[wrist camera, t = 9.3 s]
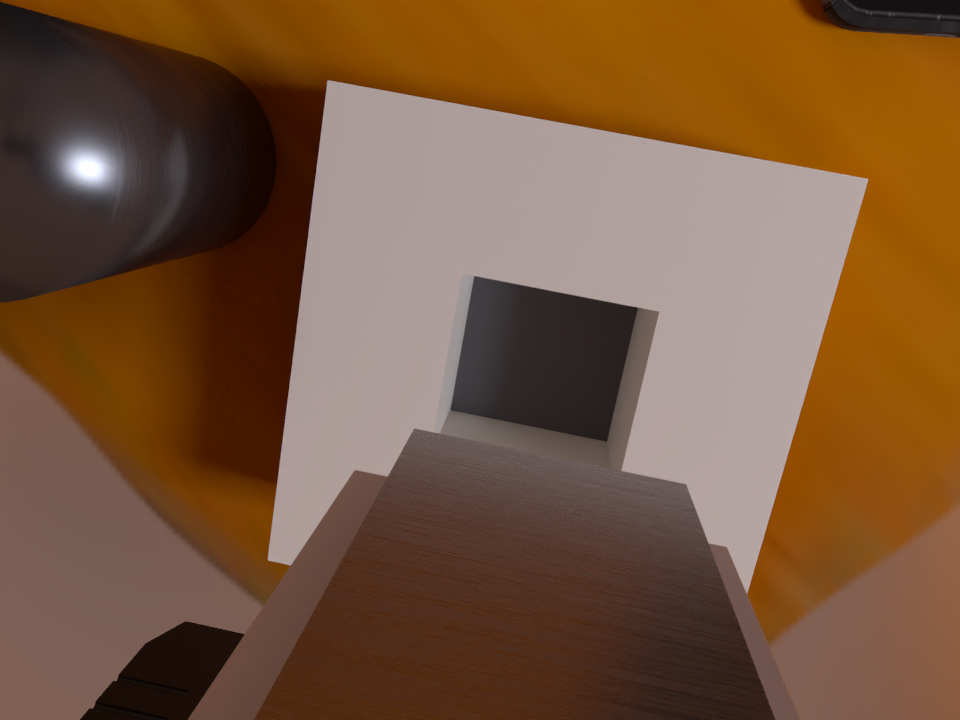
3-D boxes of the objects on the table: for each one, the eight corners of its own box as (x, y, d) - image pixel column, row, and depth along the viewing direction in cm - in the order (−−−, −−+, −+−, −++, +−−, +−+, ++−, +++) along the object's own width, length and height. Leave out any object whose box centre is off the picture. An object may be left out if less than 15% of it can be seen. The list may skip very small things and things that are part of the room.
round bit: (95, 37, 27) (-171, -31, 17) (286, 72, 26) (126, 23, 17) (84, 233, 28) (-164, 272, 19) (264, 268, 28) (107, 327, 18)
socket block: (370, 94, 26) (327, 80, 21) (810, 175, 26) (868, 178, 21) (315, 494, 30) (267, 560, 25) (700, 575, 29) (728, 658, 24)
